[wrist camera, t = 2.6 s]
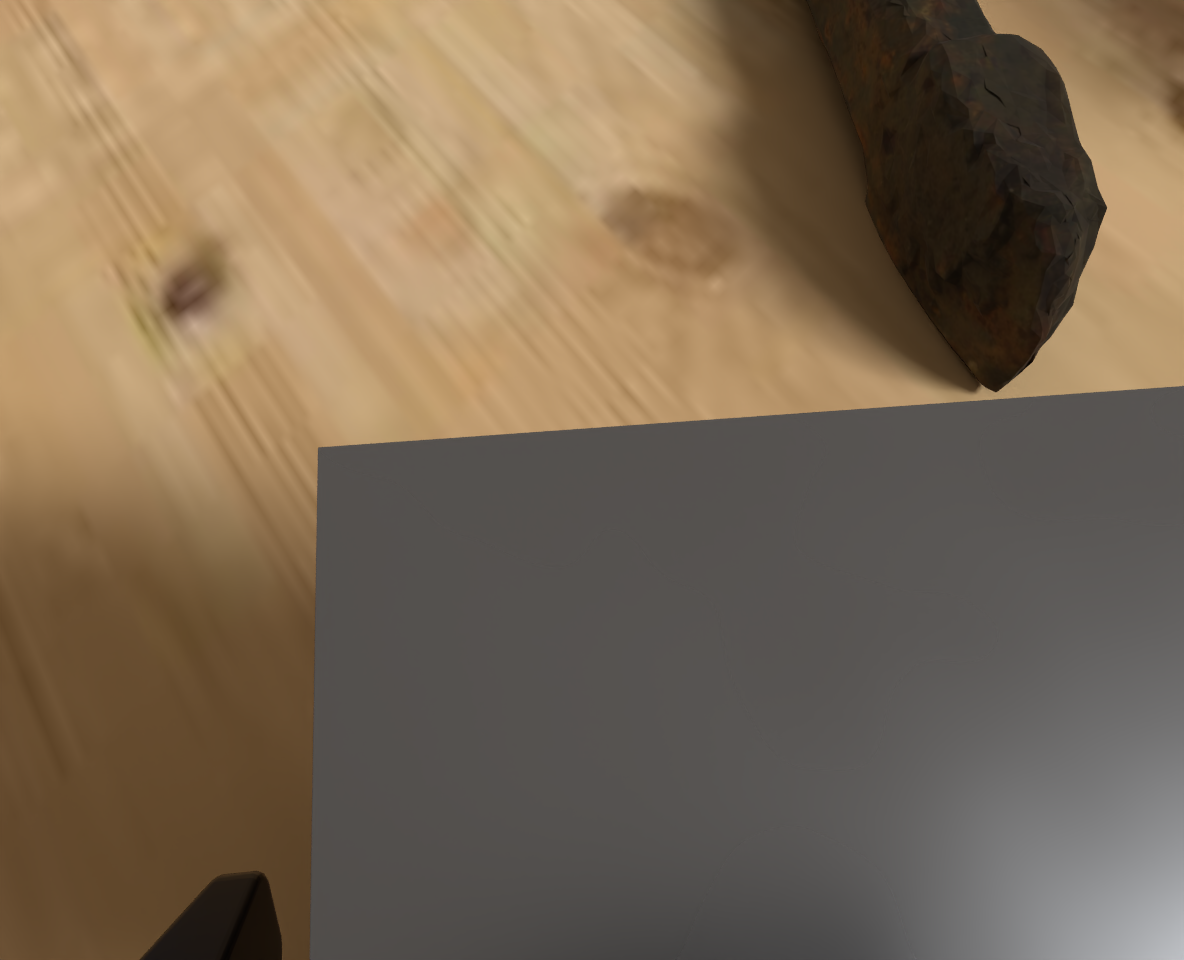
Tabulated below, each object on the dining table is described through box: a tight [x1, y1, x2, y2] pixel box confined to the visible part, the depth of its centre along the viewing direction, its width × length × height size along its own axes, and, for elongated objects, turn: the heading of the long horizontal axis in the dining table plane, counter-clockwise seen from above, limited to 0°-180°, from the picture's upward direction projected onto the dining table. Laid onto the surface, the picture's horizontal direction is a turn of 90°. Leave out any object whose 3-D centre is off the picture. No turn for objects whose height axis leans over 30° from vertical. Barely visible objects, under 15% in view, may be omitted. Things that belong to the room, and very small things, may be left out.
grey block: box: [310, 386, 1184, 960], centre depth 10 cm, size 6×6×12 cm
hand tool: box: [806, 0, 1107, 392], centre depth 21 cm, size 19×4×5 cm, turn 7°
